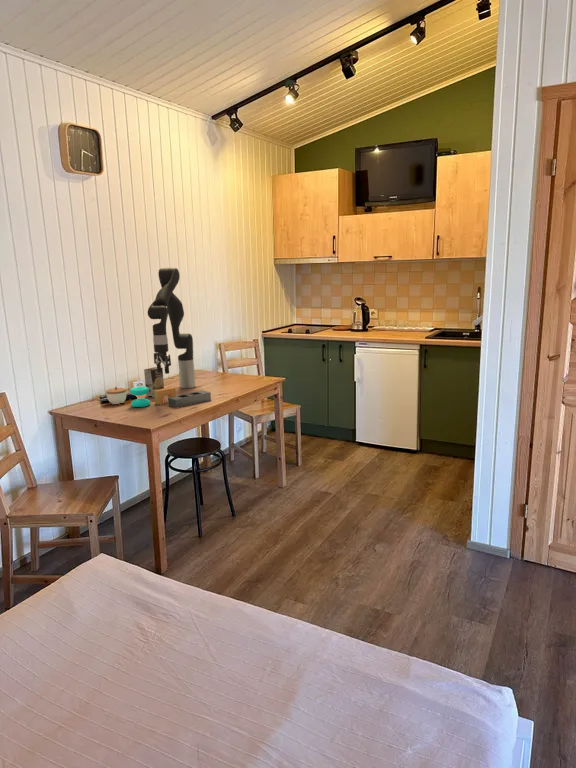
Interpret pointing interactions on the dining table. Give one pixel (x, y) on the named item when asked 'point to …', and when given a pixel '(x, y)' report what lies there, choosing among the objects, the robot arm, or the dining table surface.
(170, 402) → the grey slotted block
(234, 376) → the dining table surface
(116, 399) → the lidded jar
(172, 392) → the long orange brick
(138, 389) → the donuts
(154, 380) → the coffee box
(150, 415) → the dining table surface
